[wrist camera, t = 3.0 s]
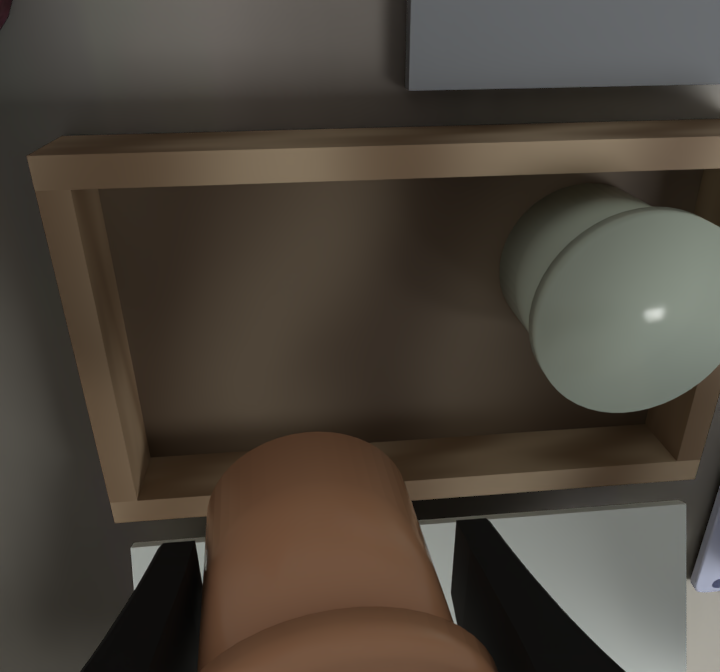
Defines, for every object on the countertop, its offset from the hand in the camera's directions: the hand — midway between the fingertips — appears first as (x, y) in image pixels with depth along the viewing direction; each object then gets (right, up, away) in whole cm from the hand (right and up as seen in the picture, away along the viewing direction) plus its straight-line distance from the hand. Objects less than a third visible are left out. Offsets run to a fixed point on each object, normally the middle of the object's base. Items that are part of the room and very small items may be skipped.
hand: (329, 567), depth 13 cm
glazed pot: (+7, +7, +7) cm, 12 cm away
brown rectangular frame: (+2, +2, +9) cm, 10 cm away
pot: (-1, +1, +1) cm, 2 cm away
